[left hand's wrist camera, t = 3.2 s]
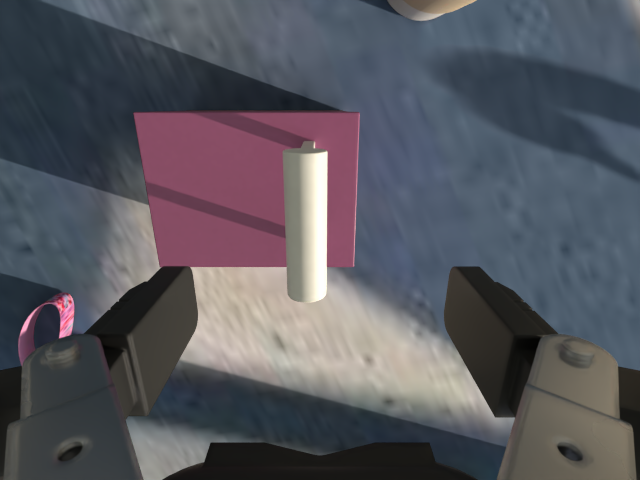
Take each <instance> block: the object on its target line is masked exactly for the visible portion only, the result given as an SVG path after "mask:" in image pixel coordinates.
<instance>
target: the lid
mask: <svg viewBox="0 0 640 480" xmlns="http://www.w3.org/2000/svg"><path fill="white" fill-rule="evenodd" d="M133 114H134V120H135V126H136V131H137V137H138V143H139V149H140V155H141V160H142V166H143V172H144V178H145V184H146V189H147V195H148V201H149V207H150V213H151V219H152V224H153V230H154V236H155V242H156V248H157V253H158V259H159V265H160V267H163V266H189V267H287V289H288V296H289V297H290V298H291V299H293V300H295V301H298V302H305V303H308V302H315V301H318V300H321V299H322V298H324V297H325V295H326V287H327V267H354V251H355V224H356V197H357V169H358V142H359V115H360V113H359V112H134V113H133Z"/></svg>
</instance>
